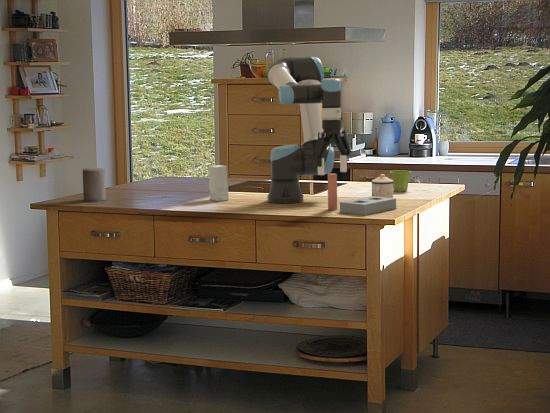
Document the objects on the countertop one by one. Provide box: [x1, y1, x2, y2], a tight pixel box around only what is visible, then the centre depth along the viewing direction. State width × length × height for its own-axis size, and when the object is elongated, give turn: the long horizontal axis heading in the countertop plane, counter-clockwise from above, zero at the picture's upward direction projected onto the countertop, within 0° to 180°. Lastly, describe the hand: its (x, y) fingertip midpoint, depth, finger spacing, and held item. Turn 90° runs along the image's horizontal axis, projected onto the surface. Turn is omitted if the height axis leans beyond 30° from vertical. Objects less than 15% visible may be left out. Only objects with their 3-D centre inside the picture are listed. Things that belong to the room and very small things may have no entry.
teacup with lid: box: [371, 173, 394, 198], centre depth 387 cm, size 12×9×12 cm
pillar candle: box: [82, 166, 107, 202], centre depth 414 cm, size 10×10×15 cm
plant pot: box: [389, 169, 412, 193], centre depth 423 cm, size 9×9×9 cm
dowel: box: [327, 173, 338, 211], centre depth 373 cm, size 4×4×14 cm
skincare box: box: [207, 164, 230, 202], centre depth 406 cm, size 8×6×15 cm
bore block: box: [339, 195, 397, 216], centre depth 369 cm, size 12×20×4 cm, turn 136°
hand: (332, 173), depth 371 cm, fingers open, 13 cm apart
